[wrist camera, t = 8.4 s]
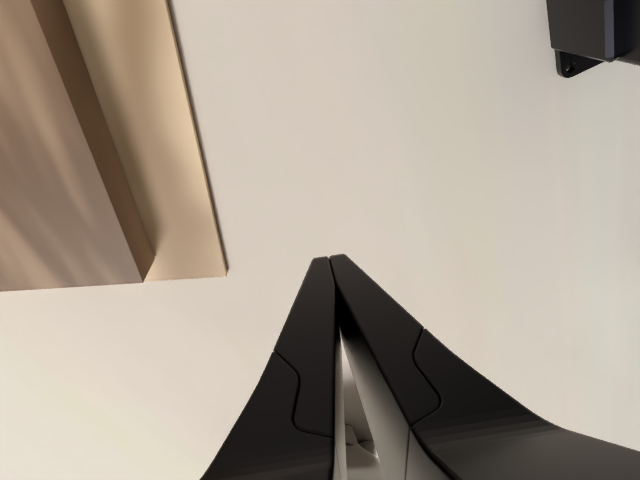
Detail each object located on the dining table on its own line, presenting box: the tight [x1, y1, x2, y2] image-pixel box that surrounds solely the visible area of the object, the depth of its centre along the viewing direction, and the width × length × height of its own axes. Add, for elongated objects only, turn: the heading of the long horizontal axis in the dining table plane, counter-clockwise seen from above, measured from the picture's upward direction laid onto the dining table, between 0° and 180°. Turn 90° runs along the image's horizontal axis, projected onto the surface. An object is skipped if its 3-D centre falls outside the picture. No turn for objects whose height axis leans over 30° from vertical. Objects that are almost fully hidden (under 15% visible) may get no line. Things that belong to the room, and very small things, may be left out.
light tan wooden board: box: [63, 0, 227, 281], centre depth 21 cm, size 18×17×1 cm
